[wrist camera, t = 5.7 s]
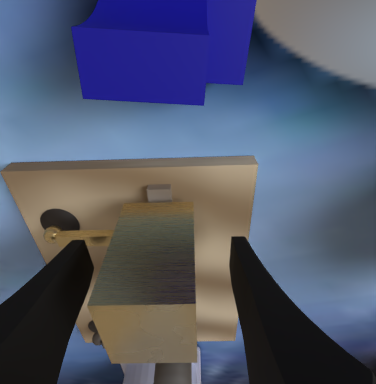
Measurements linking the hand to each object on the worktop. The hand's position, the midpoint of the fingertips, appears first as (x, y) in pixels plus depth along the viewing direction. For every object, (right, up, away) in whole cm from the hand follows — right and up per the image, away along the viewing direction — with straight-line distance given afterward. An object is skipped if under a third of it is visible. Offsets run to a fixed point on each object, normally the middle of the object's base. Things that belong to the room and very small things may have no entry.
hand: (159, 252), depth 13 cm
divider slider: (-2, +1, +2) cm, 3 cm away
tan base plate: (-1, -2, +6) cm, 6 cm away
